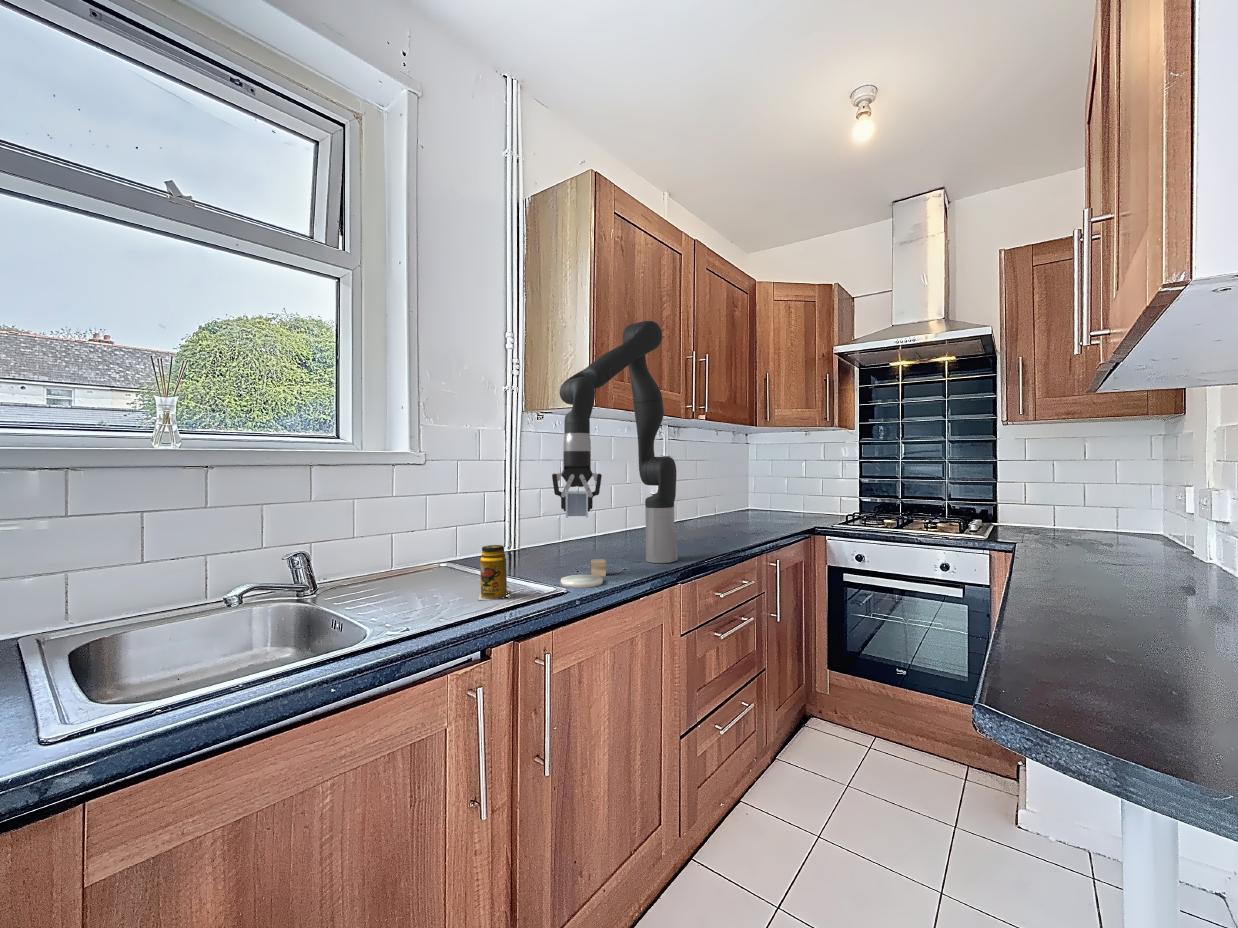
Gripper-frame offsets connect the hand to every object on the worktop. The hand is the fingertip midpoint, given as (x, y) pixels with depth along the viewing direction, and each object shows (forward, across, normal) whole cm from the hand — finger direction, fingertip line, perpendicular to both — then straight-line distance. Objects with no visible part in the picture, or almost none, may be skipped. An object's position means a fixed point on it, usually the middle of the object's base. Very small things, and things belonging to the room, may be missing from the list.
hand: (576, 510), depth 154 cm
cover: (+2, 0, 0) cm, 2 cm away
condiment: (+19, -19, -19) cm, 33 cm away
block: (+18, +6, +3) cm, 20 cm away
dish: (+18, +2, -8) cm, 20 cm away
